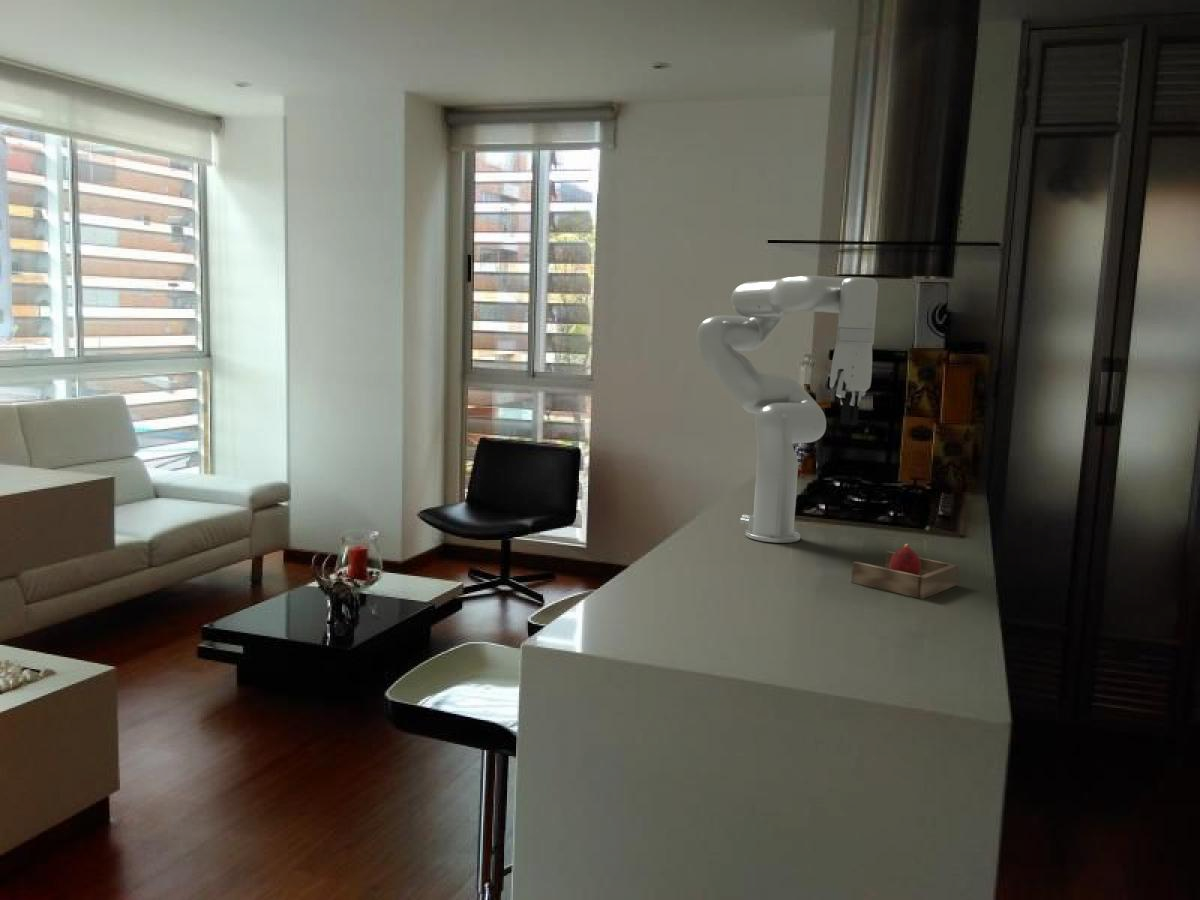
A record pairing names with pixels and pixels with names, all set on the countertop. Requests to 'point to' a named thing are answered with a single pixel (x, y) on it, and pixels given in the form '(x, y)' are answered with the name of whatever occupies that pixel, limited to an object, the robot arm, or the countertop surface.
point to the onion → (906, 561)
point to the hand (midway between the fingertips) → (848, 423)
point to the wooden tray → (907, 577)
